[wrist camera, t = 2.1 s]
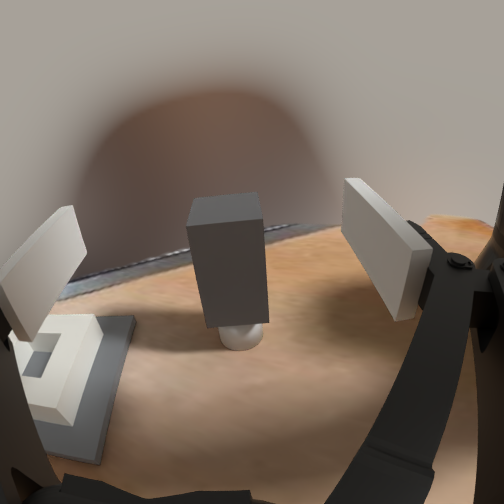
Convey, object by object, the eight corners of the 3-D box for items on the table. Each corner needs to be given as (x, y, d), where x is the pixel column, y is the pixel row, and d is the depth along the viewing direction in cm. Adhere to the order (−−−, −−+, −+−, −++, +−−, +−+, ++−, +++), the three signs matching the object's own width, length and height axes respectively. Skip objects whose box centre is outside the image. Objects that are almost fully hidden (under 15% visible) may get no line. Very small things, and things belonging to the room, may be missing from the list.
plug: (265, 314, 35) (257, 191, 27) (270, 352, 30) (262, 218, 23) (215, 319, 35) (194, 198, 27) (214, 356, 30) (185, 226, 23)
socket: (136, 321, 35) (125, 294, 33) (99, 465, 19) (76, 444, 17) (23, 322, 35) (10, 300, 32) (-30, 428, 19) (-52, 406, 17)
